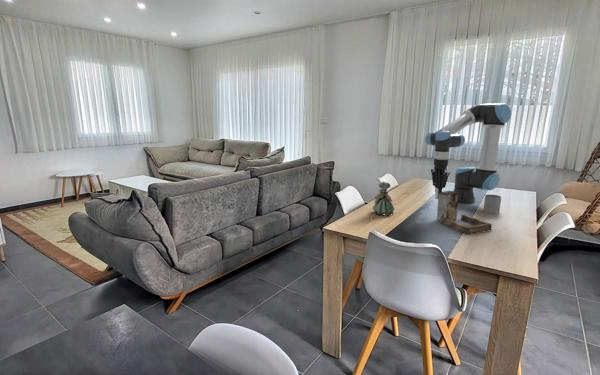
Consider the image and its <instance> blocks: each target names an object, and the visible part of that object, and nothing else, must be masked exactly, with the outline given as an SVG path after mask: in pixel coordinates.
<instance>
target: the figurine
mask: <svg viewBox="0 0 600 375" xmlns="http://www.w3.org/2000/svg"><path fill="white" fill-rule="evenodd" d="M378 188H379V193H378V194H377V195H375V196H374V205H373V206H372V209H373V211H374V212H375V213H376V212H377V213H376V214H377V215H379V214H385V215H391V214H393V215H394V211H395V207H394V205H393V203H392V201H393V199H392V198H391V197H390V195H389V191H388V189H390V188H391V184H390V183H389V182H385V181H381V182H379V184H378Z"/></svg>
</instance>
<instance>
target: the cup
mask: <svg viewBox="0 0 600 375" xmlns="http://www.w3.org/2000/svg"><path fill="white" fill-rule="evenodd" d="M501 201H502V196H501V195H498V194H485V195H484V204H483V213H485V212H486V213H485V214H489V215H499V214H500V210H501V203H502V202H501Z"/></svg>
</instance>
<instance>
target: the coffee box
mask: <svg viewBox="0 0 600 375" xmlns="http://www.w3.org/2000/svg"><path fill="white" fill-rule="evenodd" d="M458 196H459V193H458V192H453V190H445V191H442V192H439V196H438V199H437V209H436V210H437V211H436V220H438V221H441V217H444V218H447V219H449V220H457V217H458V206H459V202H458Z"/></svg>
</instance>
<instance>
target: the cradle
mask: <svg viewBox="0 0 600 375" xmlns="http://www.w3.org/2000/svg"><path fill="white" fill-rule="evenodd" d="M439 221H440V220H439ZM439 224H441V225H442V226H443V225H444V226H445V227H448V228H451V229H453V230H455V231H457V232H460V233H461V234H464V235H467V234H468V235H472V234H471V233H473V234H478V233H477V232H479V233H483V231H485V232H489V231H488V230H491V231H492V223H490V222H487V221H484V220H481V219H478V218H477V217H476V218H475V217H473V216H470V215H467V214H464V213H461V217H460V218H459V219H456V220H449V219H447V218H444V217H441V221H440V223H439Z"/></svg>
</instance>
